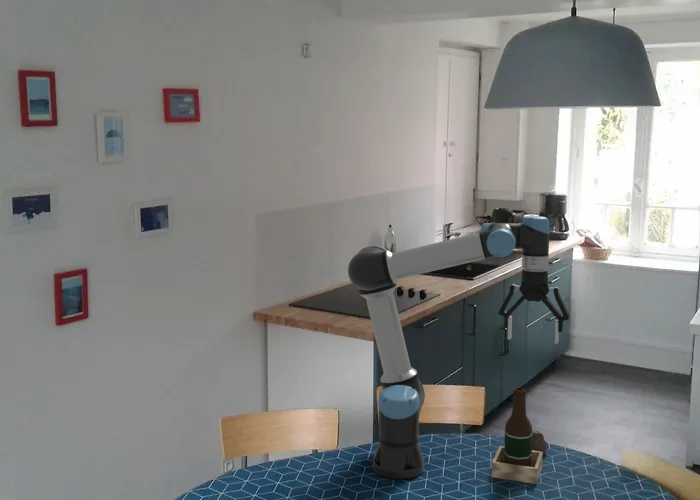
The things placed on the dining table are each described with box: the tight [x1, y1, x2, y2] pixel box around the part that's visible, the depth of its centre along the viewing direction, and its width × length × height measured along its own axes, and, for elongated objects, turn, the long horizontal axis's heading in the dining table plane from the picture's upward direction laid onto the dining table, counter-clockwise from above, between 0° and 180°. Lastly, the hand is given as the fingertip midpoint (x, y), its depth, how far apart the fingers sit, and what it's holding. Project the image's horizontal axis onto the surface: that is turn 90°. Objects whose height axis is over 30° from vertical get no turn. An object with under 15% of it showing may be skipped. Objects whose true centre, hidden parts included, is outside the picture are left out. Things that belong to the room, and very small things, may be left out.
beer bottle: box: [503, 387, 533, 467], centre depth 215 cm, size 8×8×24 cm
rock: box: [532, 429, 549, 455], centre depth 229 cm, size 14×9×10 cm
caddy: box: [491, 445, 544, 485], centre depth 216 cm, size 13×13×4 cm
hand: (532, 340), depth 220 cm, fingers open, 13 cm apart
